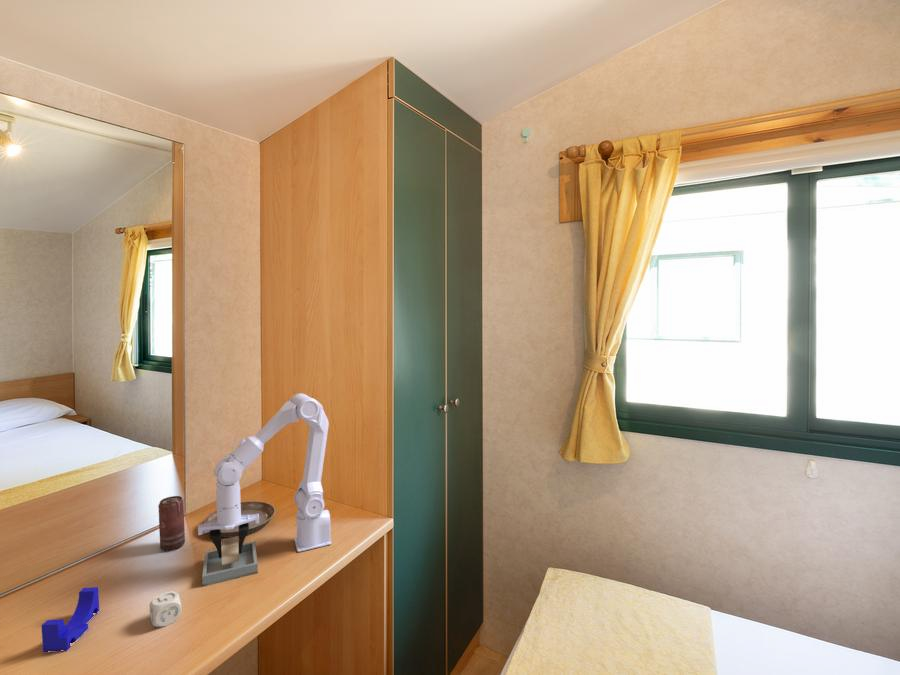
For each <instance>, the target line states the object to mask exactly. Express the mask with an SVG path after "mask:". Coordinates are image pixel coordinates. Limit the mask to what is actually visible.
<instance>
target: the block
mask: <svg viewBox="0 0 900 675" xmlns="http://www.w3.org/2000/svg"><path fill="white" fill-rule="evenodd" d="M238 543H239V536H236V537H225V538H221V549H222V565H224V564H229V563H233V562H238V561H239V546H238Z"/></svg>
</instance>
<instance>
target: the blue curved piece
mask: <svg viewBox="0 0 900 675" xmlns="http://www.w3.org/2000/svg"><path fill="white" fill-rule="evenodd" d="M99 598H100V596H99V586H94V587H91V586H90V587H84V588H82V589H81V590H79V592H78V600H77V604H76V608H75V610H74V612H73V614H72V616H71V618H70V619H69V621H68V622H67V623H66V624H65V621H64V618H57V619H47V620H46V621H45V622H44V623H42V624H41V636H42V637H41V639H42V653H43V652H48V651H61V650H68V649H69V648H70V647H71V646H70V643H73V642H75V641H76V640H77V639H78V638H79V637H80V636H81V635H82V634H83V633H84V632H85V631H86V630H87V629H88V630H89V622H90V621H91V620H92V619H93V618H94V617H95V616H94V615H93V613H97V612H98V611H99V612H100V599H99ZM99 612H98V613H99ZM98 613H97V614H98ZM93 616H94V617H93ZM92 617H93V618H92ZM91 618H92V619H91ZM90 619H91V620H90ZM89 620H90V621H89ZM88 621H89V622H88ZM87 622H88V623H87ZM86 623H87V624H86ZM88 630H87V631H88ZM71 648H72V647H71ZM71 648H70V649H71ZM70 649H69V650H70ZM69 650H68V651H69ZM61 652H62V651H61Z"/></svg>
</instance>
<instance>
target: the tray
mask: <svg viewBox="0 0 900 675" xmlns="http://www.w3.org/2000/svg"><path fill="white" fill-rule="evenodd" d="M202 566H203V567H202V568H203V569H202V576H201V577H202V578H201V580H202V582H201V583H202V587H206V586H210V585H214V584H217V583H223V582H227V581H231V580H234V579H240V578H241V577H242V578H243V577H247V576H251V575H255V574H258V571H259V570H258V556H257V549H256V541H254V540H253V541H250V542H245V543H244V542H243V546H242V552H241V554H239V561H238V562H233V563H229V564H224V565H222V558H219V555H218V551H217V549H216V548H215V549H212V550H208V551H204V557H203V565H202Z"/></svg>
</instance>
